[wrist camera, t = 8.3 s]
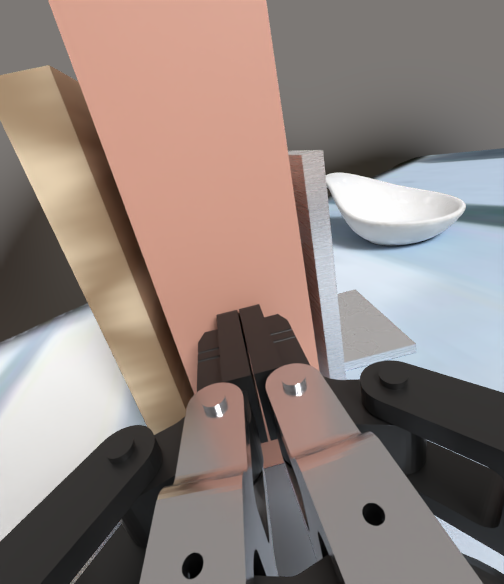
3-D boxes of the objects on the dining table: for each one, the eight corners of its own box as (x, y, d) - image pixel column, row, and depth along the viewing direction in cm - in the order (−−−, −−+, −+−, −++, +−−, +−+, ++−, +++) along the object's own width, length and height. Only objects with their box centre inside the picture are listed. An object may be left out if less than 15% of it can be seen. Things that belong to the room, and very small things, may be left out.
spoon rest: (487, 229, 33) (495, 156, 30) (412, 267, 29) (413, 187, 26) (331, 212, 53) (326, 167, 50) (272, 233, 49) (264, 185, 46)
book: (225, 478, 14) (11, -98, 6) (215, 323, 27) (140, 69, 19) (330, 450, 14) (245, -142, 7) (270, 309, 27) (218, 52, 19)
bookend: (333, 402, 16) (301, 155, 11) (281, 303, 27) (253, 153, 22) (439, 373, 17) (453, 119, 12) (345, 286, 28) (332, 135, 23)
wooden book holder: (158, 449, 16) (-20, 79, 9) (178, 318, 29) (109, 121, 22) (347, 398, 16) (309, 10, 10) (284, 291, 29) (248, 91, 22)
